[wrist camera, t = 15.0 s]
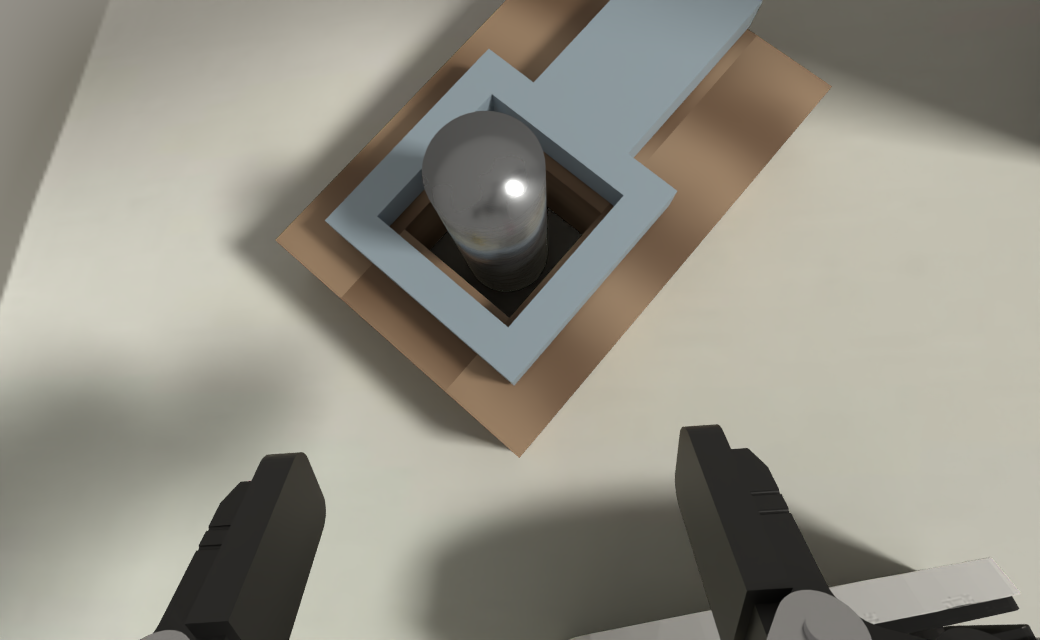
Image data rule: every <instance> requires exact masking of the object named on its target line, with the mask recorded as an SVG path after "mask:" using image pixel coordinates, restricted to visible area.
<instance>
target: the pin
mask: <svg viewBox="0 0 1040 640" xmlns="http://www.w3.org/2000/svg"><path fill="white" fill-rule="evenodd" d="M422 180H423V185H424V188H425V191H426V194H427V196H428V198H429V200H430V202H431V203H432V205H433V207H434V208H435V210H436V212H437V213H438V215H439V217H440V218H441V220H442V222H443V223H444V225H445V227H446V229H447V230H448V232H449V234H450V235H451V237H452V239H453V240H454V242H455V244H456V245H457V247H458V249H459V250H460V252H461V254H462V255H463V257H464V259H465V261H466V262H467V264H468V266H469V267H470V269H471V271H472V272H473V274H474V275H475V277H476V278H477V279H478V280H479V281H480V282H481V283H482V284H484V285H485V286H487V287H489V288H491V289H494V290H497V291H503V292H510V291H516V290H520V289H523V288H525V287H527V286H528V285H530V284H531V283H533V282H534V281H535V280H536V279H537V278H538V277H539V276H540V274H541V273H542V271H543V269H544V267H545V264H546V261H547V254H548V246H547V205H546V166H545V157H544V153H543V150H542V147H541V145H540V143H539V141H538V139H537V137H536V136H535V135H534V133H533V132H532V131H531V130H530V129H529V128H528V127H527V126H526V125H525V124H524V123H522V122H521V121H519V120H518V119H516V118H514V117H512V116H510V115H507V114H504V113H500V112H495V111H476V112H471V113H467V114H464V115H462V116H459V117H457V118H455V119H453V120H452V121H450V122H449V123H447V124H446V125H445V126H443V127H442V128H441V129H440V130H439V131H438V132H437V133H436V134H435V136H434V137H433V139H432V140H431V141H430V143H429V145H428V147H427V149H426V152H425V155H424V159H423V164H422Z"/></svg>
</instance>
